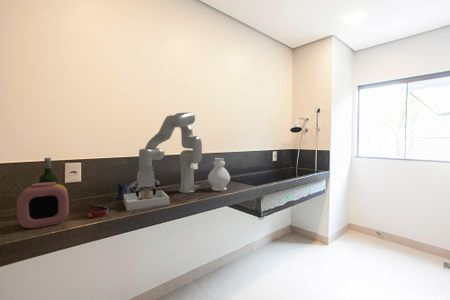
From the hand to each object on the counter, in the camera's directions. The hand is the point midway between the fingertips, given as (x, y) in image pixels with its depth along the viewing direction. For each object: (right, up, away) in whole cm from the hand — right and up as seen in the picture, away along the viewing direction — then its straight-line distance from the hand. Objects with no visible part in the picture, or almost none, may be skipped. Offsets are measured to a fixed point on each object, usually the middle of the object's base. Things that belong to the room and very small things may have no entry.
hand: (146, 195), depth 140 cm
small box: (-17, -4, +12) cm, 22 cm away
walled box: (0, -5, 0) cm, 5 cm away
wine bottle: (-46, -6, -18) cm, 50 cm away
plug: (0, -4, 0) cm, 4 cm away
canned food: (-18, -6, -20) cm, 28 cm away
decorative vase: (+45, -3, +41) cm, 61 cm away
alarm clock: (-37, -7, -33) cm, 49 cm away
